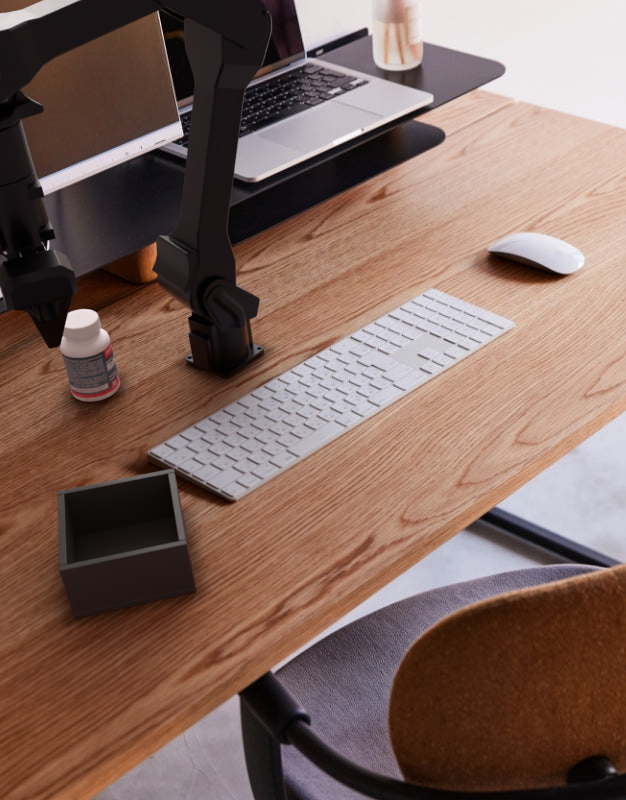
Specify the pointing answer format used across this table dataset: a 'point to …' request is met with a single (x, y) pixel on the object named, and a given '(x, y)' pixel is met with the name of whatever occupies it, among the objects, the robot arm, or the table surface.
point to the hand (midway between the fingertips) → (45, 323)
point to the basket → (123, 543)
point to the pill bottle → (88, 357)
